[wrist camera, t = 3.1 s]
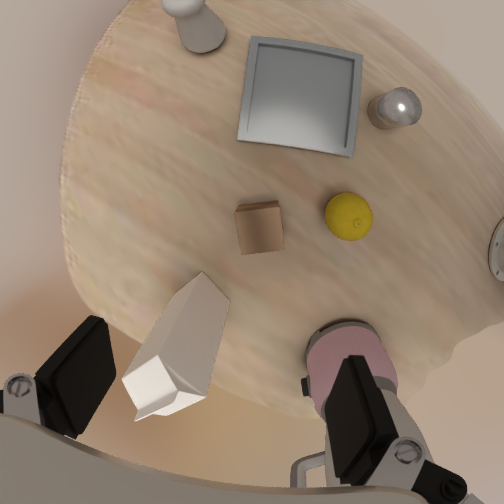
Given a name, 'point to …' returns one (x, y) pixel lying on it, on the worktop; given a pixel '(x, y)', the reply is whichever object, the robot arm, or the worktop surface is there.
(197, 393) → the milk
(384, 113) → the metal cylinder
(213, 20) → the salt shaker
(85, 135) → the worktop surface
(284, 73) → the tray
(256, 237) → the walnut block
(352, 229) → the lemon
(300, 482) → the blender
